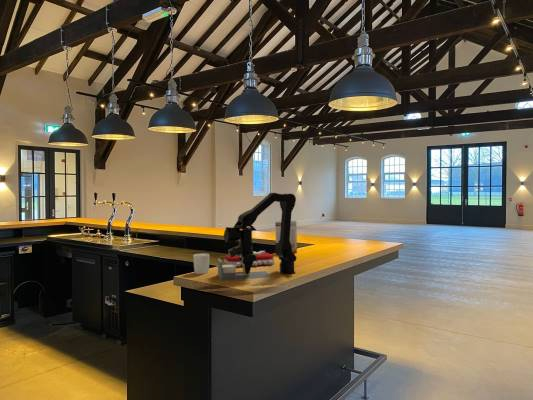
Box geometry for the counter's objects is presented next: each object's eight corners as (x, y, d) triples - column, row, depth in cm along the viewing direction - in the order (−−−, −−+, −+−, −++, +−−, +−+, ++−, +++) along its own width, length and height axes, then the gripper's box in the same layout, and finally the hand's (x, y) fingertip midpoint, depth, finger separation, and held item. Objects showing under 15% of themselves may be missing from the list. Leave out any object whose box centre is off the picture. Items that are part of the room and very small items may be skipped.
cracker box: (297, 251, 268) (296, 220, 268) (296, 252, 262) (296, 221, 262) (276, 251, 270) (275, 220, 269) (275, 252, 264) (275, 221, 263)
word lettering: (265, 248, 242) (280, 255, 213) (265, 259, 242) (280, 268, 213) (220, 250, 234) (230, 258, 206) (221, 261, 235) (230, 271, 206)
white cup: (210, 272, 202) (210, 253, 202) (208, 276, 194) (208, 255, 194) (194, 273, 202) (194, 253, 201) (192, 276, 194) (192, 256, 193)
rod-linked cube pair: (248, 274, 192) (248, 262, 192) (250, 276, 186) (250, 264, 186) (221, 275, 189) (221, 264, 189) (223, 278, 183) (222, 266, 183)
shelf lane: (265, 273, 198) (265, 255, 198) (272, 279, 185) (272, 259, 184) (217, 276, 193) (217, 257, 192) (221, 283, 179) (220, 262, 179)
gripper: (226, 238, 196) (226, 270, 196) (232, 243, 177) (232, 278, 178) (248, 238, 198) (249, 269, 199) (256, 242, 180) (257, 277, 180)
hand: (246, 273), depth 189 cm, fingers closed on rod-linked cube pair, 3 cm apart
